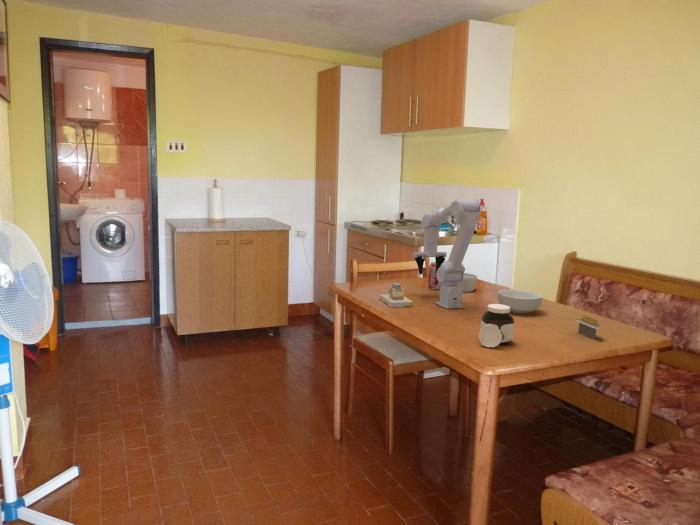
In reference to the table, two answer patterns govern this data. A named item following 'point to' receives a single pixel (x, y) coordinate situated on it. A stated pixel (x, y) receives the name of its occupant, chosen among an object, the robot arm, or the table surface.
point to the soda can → (433, 277)
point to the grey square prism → (396, 286)
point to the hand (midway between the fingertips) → (429, 273)
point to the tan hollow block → (396, 293)
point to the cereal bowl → (520, 300)
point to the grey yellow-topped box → (588, 326)
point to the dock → (396, 301)
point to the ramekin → (468, 282)
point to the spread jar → (496, 326)
